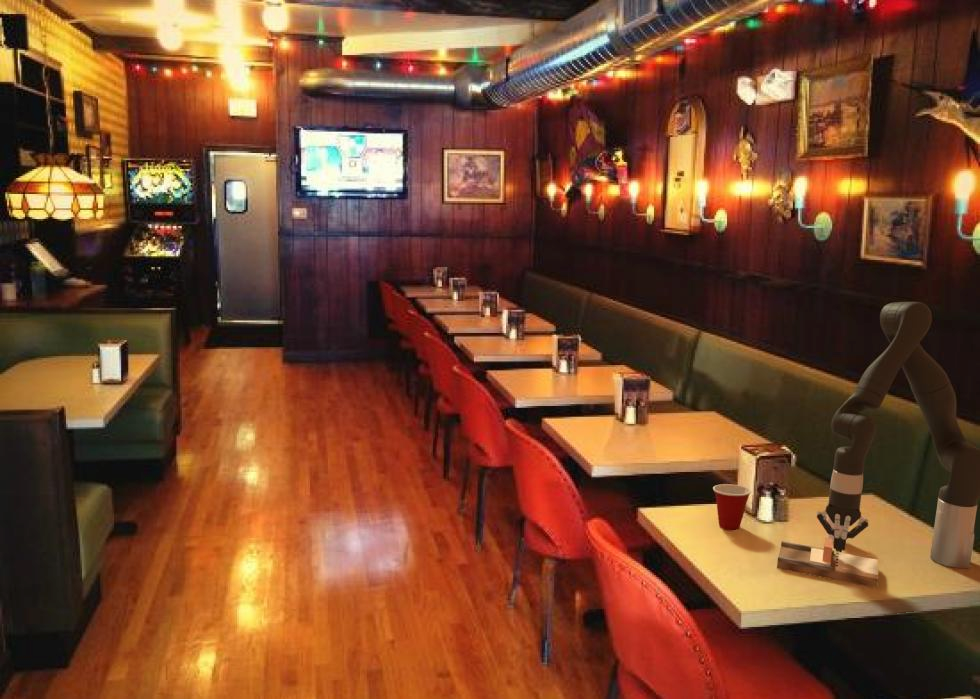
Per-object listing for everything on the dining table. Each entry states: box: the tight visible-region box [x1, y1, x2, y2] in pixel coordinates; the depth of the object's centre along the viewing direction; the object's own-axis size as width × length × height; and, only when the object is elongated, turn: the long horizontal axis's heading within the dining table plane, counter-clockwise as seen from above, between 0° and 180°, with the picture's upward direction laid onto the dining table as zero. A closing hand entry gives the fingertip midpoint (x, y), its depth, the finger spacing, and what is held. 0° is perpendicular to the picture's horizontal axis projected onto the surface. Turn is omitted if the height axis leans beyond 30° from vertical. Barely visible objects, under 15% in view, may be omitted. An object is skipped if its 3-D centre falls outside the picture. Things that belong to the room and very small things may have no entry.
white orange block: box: [810, 537, 834, 566], centre depth 218 cm, size 5×9×5 cm, turn 156°
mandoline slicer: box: [776, 540, 879, 589], centre depth 218 cm, size 24×12×3 cm, turn 66°
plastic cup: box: [712, 483, 752, 531], centre depth 243 cm, size 11×11×12 cm
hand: (838, 550), depth 216 cm, fingers closed
